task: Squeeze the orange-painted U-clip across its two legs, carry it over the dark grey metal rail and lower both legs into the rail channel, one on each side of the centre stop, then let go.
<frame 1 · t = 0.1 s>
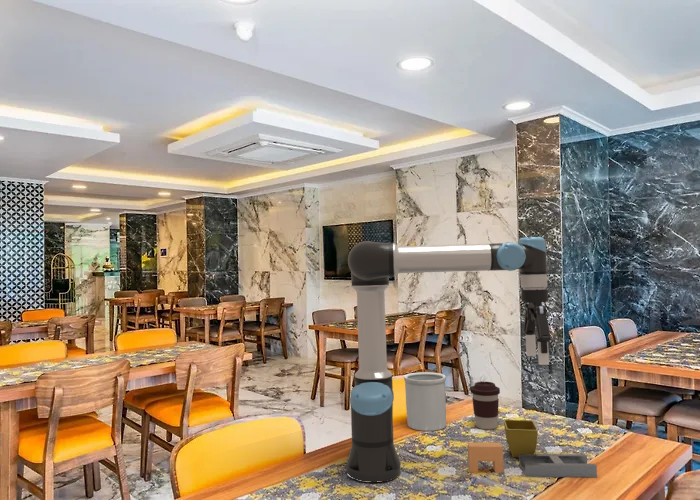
hand: (537, 360, 147), 28 cm above the table, fingers open, 13 cm apart
flower pot: (521, 455, 147), on the table
rail: (556, 470, 135), on the table
utensil holder: (426, 425, 177), on the table
clip: (485, 470, 137), on the table
coffee cup: (486, 427, 173), on the table
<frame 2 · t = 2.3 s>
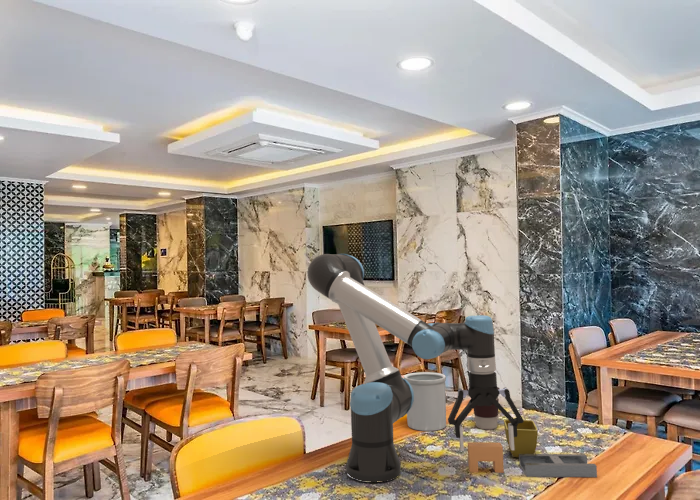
hand: (486, 449, 137), 6 cm above the table, fingers open, 13 cm apart
nothing on the table moved.
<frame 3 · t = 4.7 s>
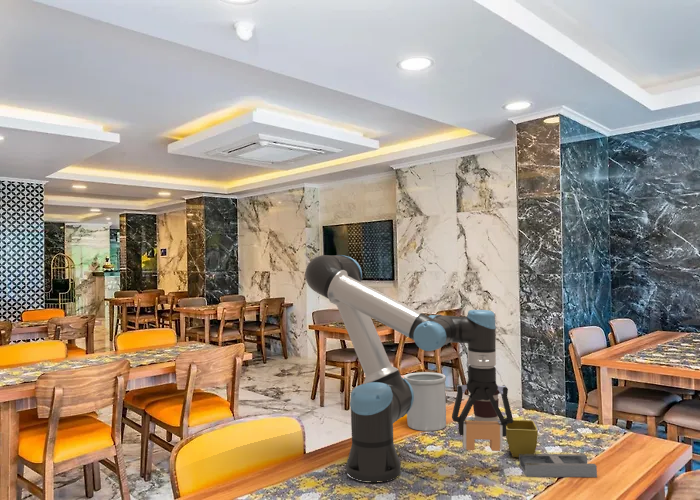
hand: (482, 447, 137), 6 cm above the table, fingers closed on clip, 9 cm apart
clip: (482, 448, 137), point 6 cm above the table, touching gripper
everything else where it was.
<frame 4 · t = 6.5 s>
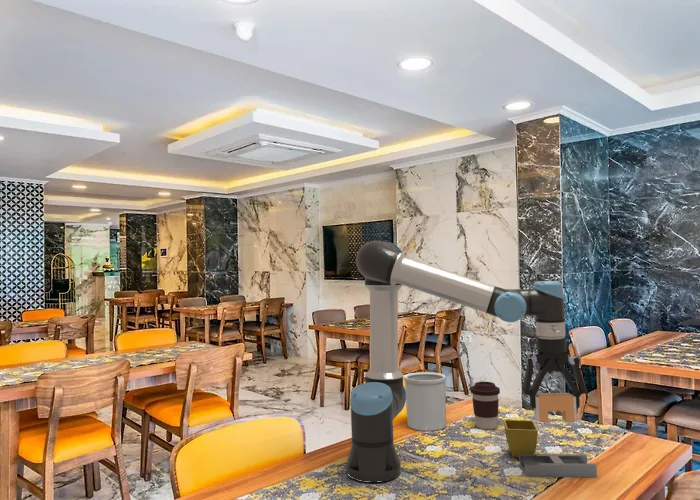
hand: (555, 419, 135), 14 cm above the table, fingers closed on clip, 9 cm apart
clip: (555, 420, 135), point 14 cm above the table, touching gripper
everything else where it was.
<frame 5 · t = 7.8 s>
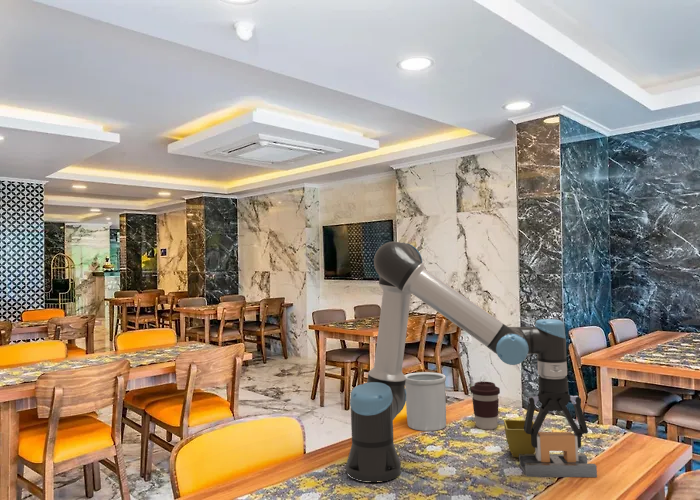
hand: (556, 459, 135), 3 cm above the table, fingers closed on clip, 9 cm apart
clip: (556, 459, 135), point 3 cm above the table, touching gripper
everything else where it was.
when the fingers open (2 cm above the table, at t = 8.8 s): clip drops 2 cm, resting on rail.
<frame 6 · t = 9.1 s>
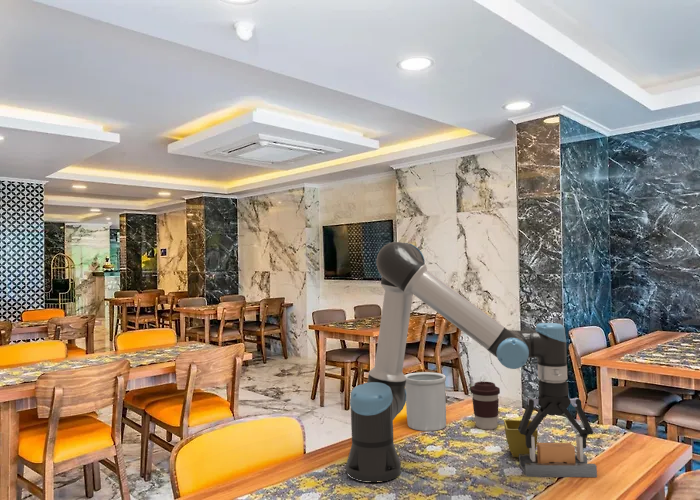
hand: (556, 459, 135), 3 cm above the table, fingers open, 12 cm apart
clip: (556, 470, 135), resting on rail
everything else where it was.
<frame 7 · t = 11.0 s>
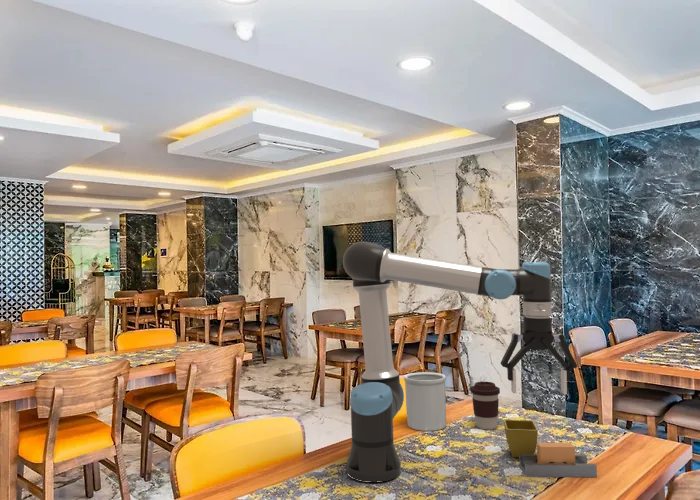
hand: (538, 392, 139), 20 cm above the table, fingers open, 13 cm apart
nothing on the table moved.
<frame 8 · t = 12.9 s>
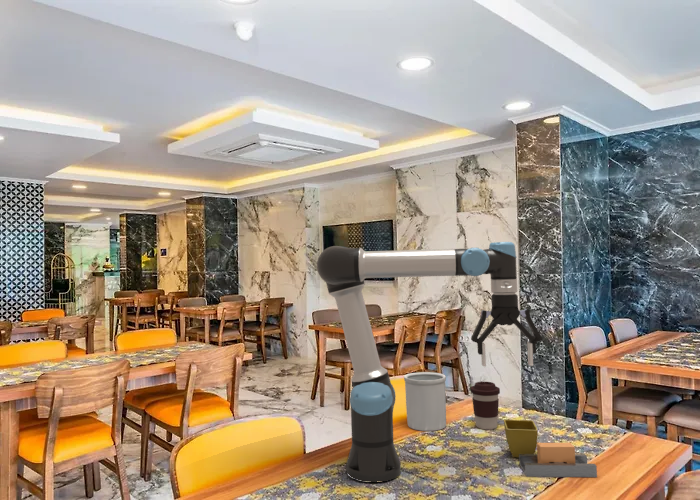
hand: (507, 365, 147), 27 cm above the table, fingers open, 13 cm apart
nothing on the table moved.
at the end: clip 0.1 cm off-centre on the rail, point 0.0 cm above the rail's base; clip tilted 0°; the gripper is holding nothing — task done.
